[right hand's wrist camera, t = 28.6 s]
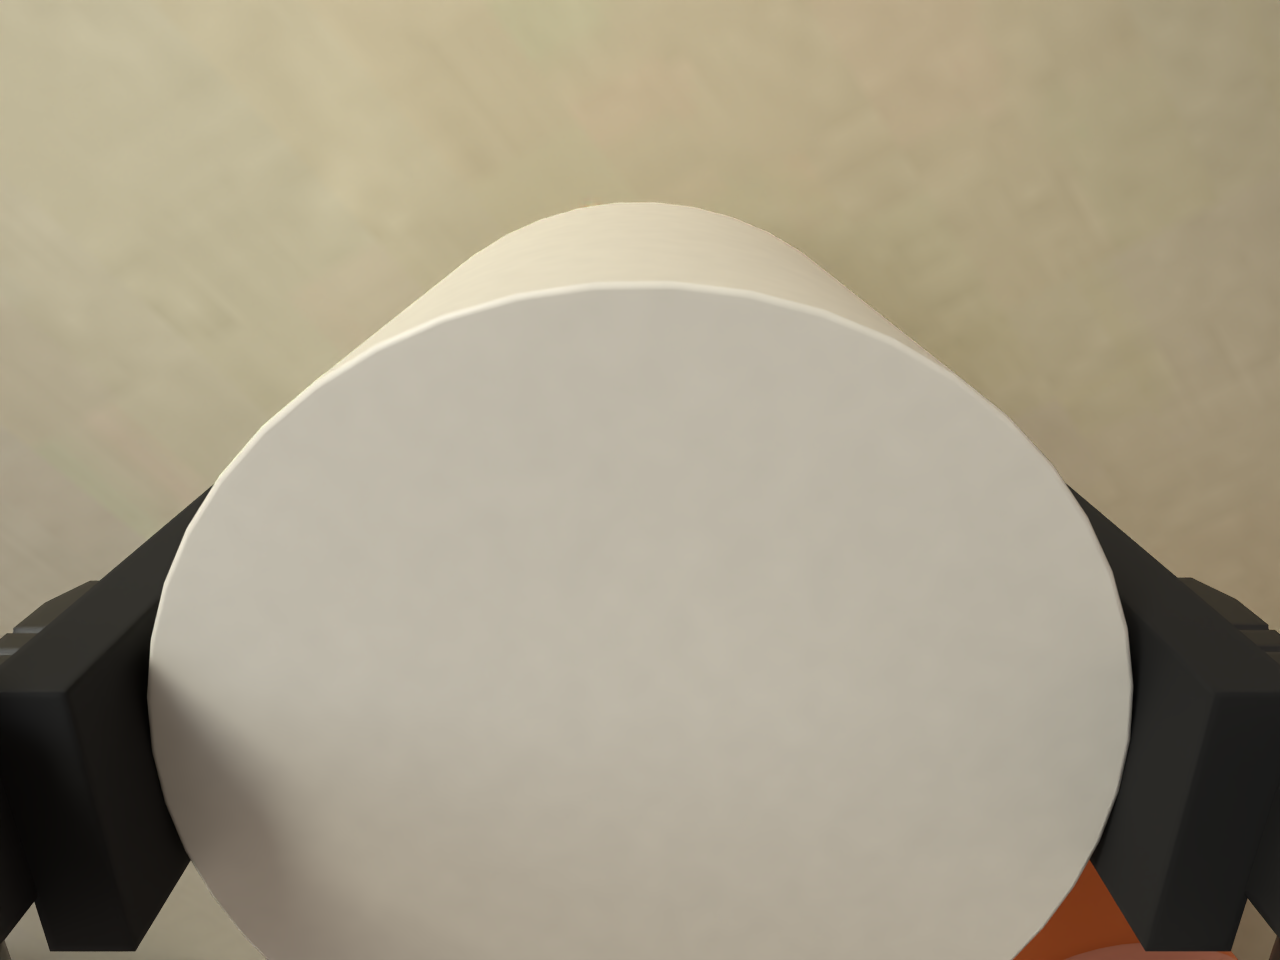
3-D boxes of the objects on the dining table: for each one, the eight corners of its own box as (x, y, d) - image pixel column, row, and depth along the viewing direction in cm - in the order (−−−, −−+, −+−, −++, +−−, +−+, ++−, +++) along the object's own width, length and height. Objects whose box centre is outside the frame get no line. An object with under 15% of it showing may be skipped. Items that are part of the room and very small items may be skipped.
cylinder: (546, 75, 13) (444, 21, 6) (1023, 405, 15) (1354, 647, 8) (279, 552, 16) (3, 882, 9) (708, 782, 17) (753, 1204, 11)
